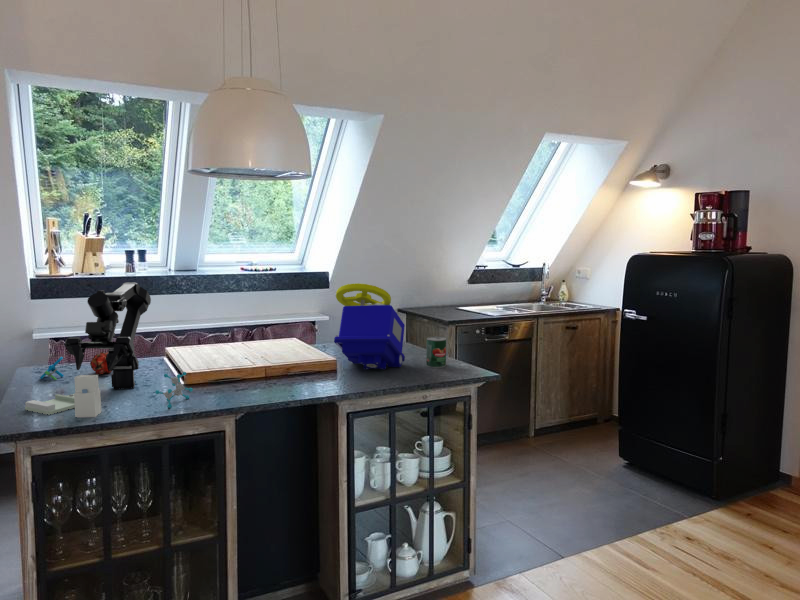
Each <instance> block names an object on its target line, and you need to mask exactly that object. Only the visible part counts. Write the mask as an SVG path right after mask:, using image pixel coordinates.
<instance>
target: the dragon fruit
mask: <svg viewBox="0 0 800 600" xmlns="http://www.w3.org/2000/svg"><path fill="white" fill-rule="evenodd" d="M107 353H108V352H104V351H101V352H99V354H96V355H94V356H93V357H92V359H91V360H90V362H89V365H90V367H91V368H90V369H91V370H92V371H94V372H95V375H98V376H99V375H100V376H101V374H102V375H103V374H104V373H106V374H110V373H113V371H108V367H107V363H106V355H107Z"/></svg>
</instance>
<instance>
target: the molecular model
mask: <svg viewBox="0 0 800 600" xmlns="http://www.w3.org/2000/svg"><path fill="white" fill-rule="evenodd" d="M186 375H187V372H186V371H182V374H180V373H178V374H177V375H176V376H174V377H171V376H169V375H168V373H164V374H163V377H164V378H168V379H170V380H171V382H172V383H171V385H172V387H175V389H174V390H173V389H171V388H168V389H167V390H166V391H165V392H161V391H160V390H159V389H156V390H155V391H154V392H155V394H156V395H159V394H160V395H163V396H164V398H165V399H166V401H167V408H168V409H171V408H172V406H173V405H172V403H171V400H172V399H173V398H174V397H175V396H176V397H178V396H183V397H185V400H189V399H190V396H189V395H185V393H182V391H183V390H186V391H189V393H190V392H193V390H194V389H193V388H192V387H189V388H188V387H185V386H184V384H182V383H181V378H182V377H184V376H186Z"/></svg>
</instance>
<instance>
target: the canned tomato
mask: <svg viewBox="0 0 800 600" xmlns="http://www.w3.org/2000/svg"><path fill="white" fill-rule="evenodd" d="M425 348H426V358H425V359H426V360H425V362H426V364H425V366H426V367H428V368H432V369H434V368H435V369H441V368H445V367H446V366H447V365H446V364H447V338H446V337H442V336H428V337H427V338H426V347H425Z"/></svg>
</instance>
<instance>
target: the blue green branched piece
mask: <svg viewBox="0 0 800 600" xmlns="http://www.w3.org/2000/svg"><path fill="white" fill-rule="evenodd" d="M63 359H64V357H63V356H60V357H59V358H58V359H57V360H56V361H55V362H54V363H52V364H49V366H48V368H47V370H46V371H45V372H43V374H42V375H40V377H39V379H40V380H42V379H44V378H45V377H46V376H47V377H48V378H52V379H53V380H54V381H55V380H56V381H57V380H58V378H56V377H55V376H54V375H53V374H54V373H55V374H57V376H59V377H61V378H63V377H65V375H64V374H63V373H61V372H60V371H59V370H58V368H56V366H57V365H58V364H59V363H60V362H61V361H62V360H63Z"/></svg>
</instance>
